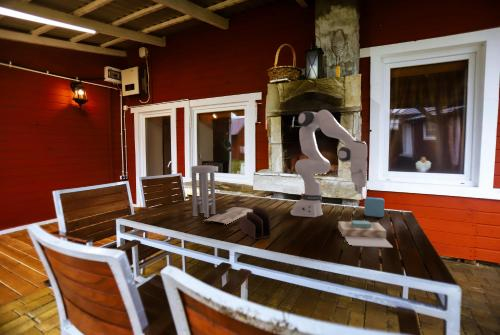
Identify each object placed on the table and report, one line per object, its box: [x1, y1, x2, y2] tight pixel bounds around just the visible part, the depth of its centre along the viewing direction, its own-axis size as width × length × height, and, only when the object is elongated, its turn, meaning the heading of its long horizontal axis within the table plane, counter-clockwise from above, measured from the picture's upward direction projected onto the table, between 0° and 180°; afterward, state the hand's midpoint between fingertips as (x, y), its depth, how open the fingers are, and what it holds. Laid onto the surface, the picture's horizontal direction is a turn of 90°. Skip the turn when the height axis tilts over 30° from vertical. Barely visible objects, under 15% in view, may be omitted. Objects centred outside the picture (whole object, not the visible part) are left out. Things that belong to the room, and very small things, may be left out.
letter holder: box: [239, 205, 272, 240], centre depth 151 cm, size 10×20×14 cm, turn 26°
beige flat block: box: [337, 220, 387, 239], centre depth 149 cm, size 22×14×4 cm, turn 80°
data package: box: [363, 196, 385, 218], centre depth 182 cm, size 12×4×12 cm, turn 63°
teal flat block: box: [350, 219, 371, 228], centre depth 149 cm, size 9×6×2 cm, turn 80°
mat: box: [344, 236, 394, 249], centre depth 135 cm, size 20×12×1 cm, turn 80°
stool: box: [190, 164, 216, 218], centre depth 187 cm, size 16×16×35 cm
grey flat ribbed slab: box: [202, 206, 253, 226], centre depth 184 cm, size 37×19×3 cm, turn 153°
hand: (358, 192), depth 156 cm, fingers open, 5 cm apart
